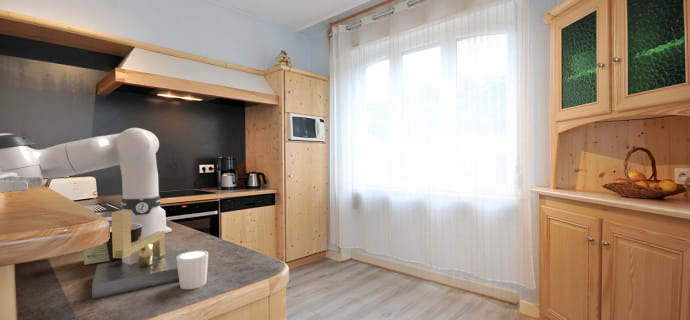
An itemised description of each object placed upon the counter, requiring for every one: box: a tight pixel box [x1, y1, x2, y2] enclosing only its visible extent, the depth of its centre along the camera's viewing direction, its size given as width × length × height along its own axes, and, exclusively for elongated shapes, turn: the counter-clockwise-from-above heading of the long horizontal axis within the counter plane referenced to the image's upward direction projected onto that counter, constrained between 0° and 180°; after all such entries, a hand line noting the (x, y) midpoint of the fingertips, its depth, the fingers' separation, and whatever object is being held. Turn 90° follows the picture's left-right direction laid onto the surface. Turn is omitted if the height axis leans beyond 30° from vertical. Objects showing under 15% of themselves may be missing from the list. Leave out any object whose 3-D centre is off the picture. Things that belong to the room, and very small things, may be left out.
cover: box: [122, 251, 139, 265], centre depth 81 cm, size 4×4×3 cm
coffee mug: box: [106, 224, 142, 263], centre depth 89 cm, size 12×9×10 cm
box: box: [83, 216, 112, 265], centre depth 91 cm, size 10×6×12 cm, turn 125°
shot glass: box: [176, 249, 209, 290], centre depth 74 cm, size 7×7×7 cm
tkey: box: [110, 209, 166, 266], centre depth 76 cm, size 16×3×15 cm, turn 0°
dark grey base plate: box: [91, 249, 189, 300], centre depth 78 cm, size 14×20×3 cm
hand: (35, 183), depth 62 cm, fingers open, 8 cm apart
